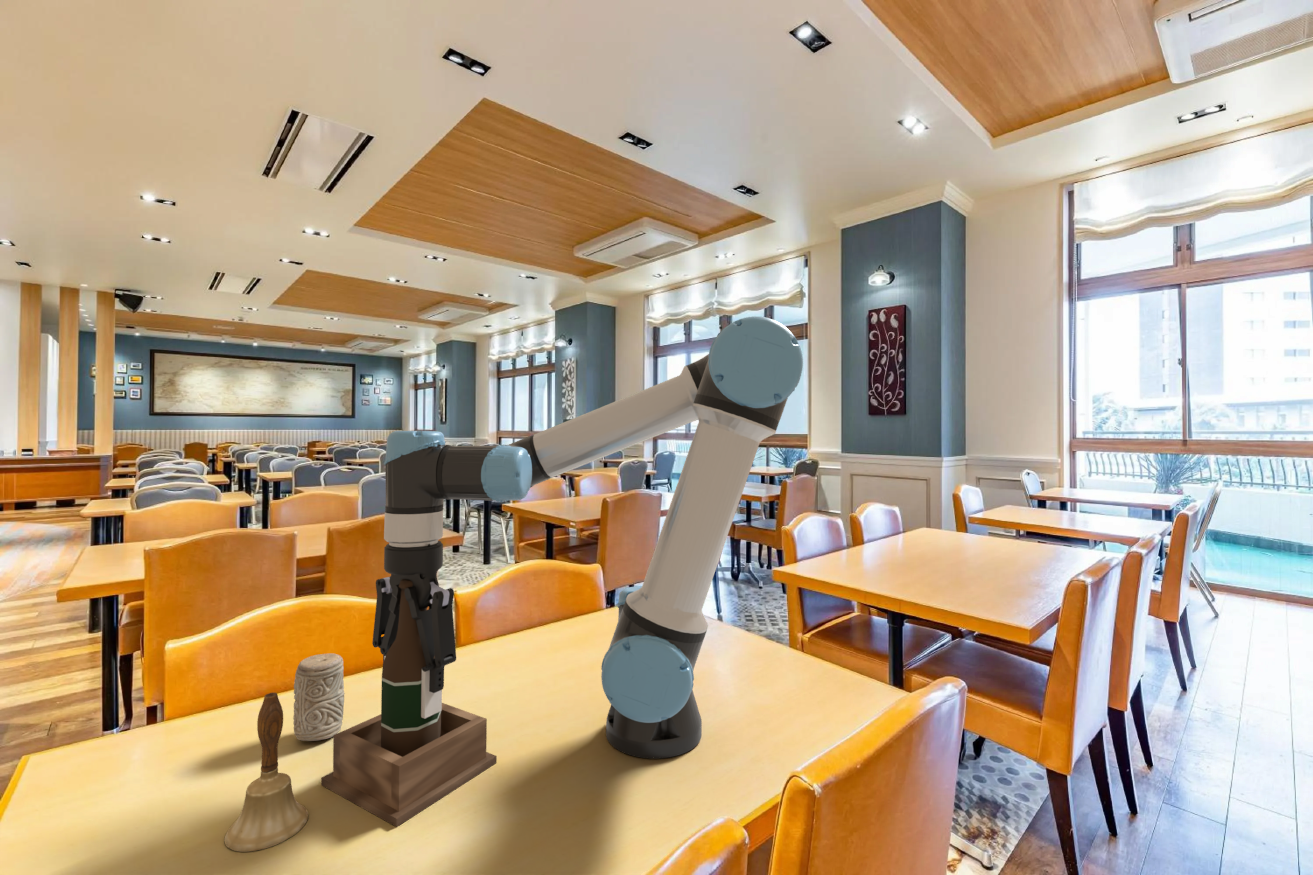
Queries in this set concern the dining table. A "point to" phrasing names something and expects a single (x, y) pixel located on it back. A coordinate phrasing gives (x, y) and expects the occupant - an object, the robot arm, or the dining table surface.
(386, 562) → the robot arm
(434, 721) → the beer bottle
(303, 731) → the carving
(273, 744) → the hand bell
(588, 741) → the dining table surface
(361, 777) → the box
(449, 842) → the dining table surface
